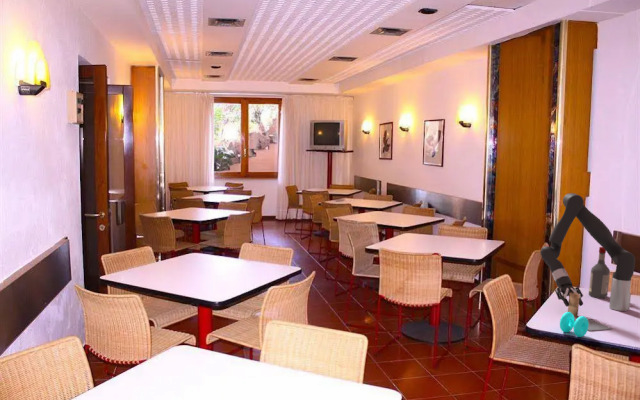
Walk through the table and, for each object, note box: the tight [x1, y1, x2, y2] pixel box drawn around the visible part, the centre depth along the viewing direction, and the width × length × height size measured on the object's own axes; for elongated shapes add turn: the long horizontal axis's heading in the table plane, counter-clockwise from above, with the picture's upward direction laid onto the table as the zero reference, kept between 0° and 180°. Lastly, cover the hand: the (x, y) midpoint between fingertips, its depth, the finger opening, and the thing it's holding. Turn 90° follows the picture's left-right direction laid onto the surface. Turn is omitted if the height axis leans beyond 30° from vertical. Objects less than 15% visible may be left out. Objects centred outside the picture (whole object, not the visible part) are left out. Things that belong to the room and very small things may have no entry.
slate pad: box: [575, 318, 613, 332], centre depth 277 cm, size 14×14×1 cm
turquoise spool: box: [559, 311, 589, 338], centre depth 263 cm, size 10×10×10 cm
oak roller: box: [567, 293, 580, 318], centre depth 291 cm, size 5×5×12 cm
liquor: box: [588, 246, 611, 299], centre depth 329 cm, size 9×9×30 cm
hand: (574, 305), depth 290 cm, fingers open, 8 cm apart
